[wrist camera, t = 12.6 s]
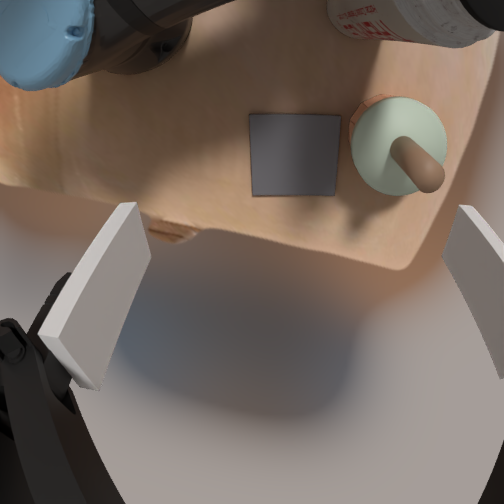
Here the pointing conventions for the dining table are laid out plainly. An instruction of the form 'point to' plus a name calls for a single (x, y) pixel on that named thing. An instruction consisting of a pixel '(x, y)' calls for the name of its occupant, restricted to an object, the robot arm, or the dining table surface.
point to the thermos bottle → (418, 20)
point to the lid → (399, 147)
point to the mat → (294, 153)
